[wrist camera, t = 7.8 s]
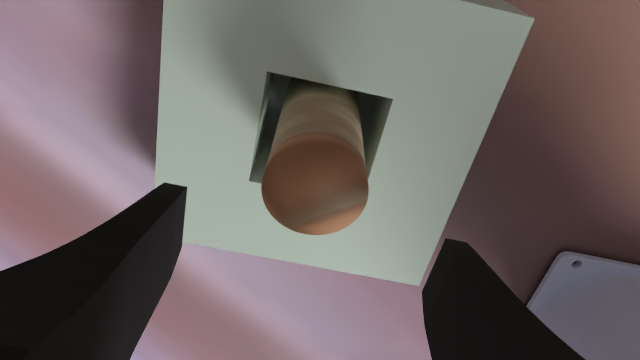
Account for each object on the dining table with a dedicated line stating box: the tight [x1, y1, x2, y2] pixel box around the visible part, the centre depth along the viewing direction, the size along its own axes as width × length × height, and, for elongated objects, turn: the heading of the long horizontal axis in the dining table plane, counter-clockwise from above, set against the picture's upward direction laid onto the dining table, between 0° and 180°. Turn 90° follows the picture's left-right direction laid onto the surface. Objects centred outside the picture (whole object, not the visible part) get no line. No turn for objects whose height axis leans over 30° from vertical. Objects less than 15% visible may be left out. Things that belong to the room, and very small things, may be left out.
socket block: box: [154, 0, 535, 286], centre depth 20 cm, size 12×12×4 cm
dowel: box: [261, 77, 369, 235], centre depth 18 cm, size 3×3×8 cm
